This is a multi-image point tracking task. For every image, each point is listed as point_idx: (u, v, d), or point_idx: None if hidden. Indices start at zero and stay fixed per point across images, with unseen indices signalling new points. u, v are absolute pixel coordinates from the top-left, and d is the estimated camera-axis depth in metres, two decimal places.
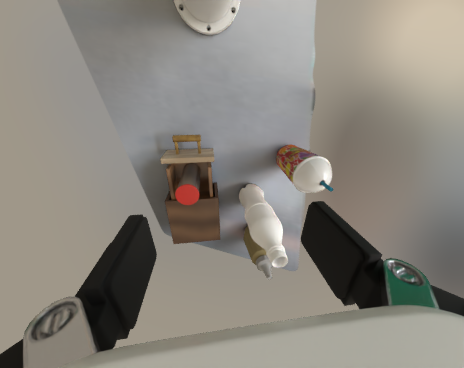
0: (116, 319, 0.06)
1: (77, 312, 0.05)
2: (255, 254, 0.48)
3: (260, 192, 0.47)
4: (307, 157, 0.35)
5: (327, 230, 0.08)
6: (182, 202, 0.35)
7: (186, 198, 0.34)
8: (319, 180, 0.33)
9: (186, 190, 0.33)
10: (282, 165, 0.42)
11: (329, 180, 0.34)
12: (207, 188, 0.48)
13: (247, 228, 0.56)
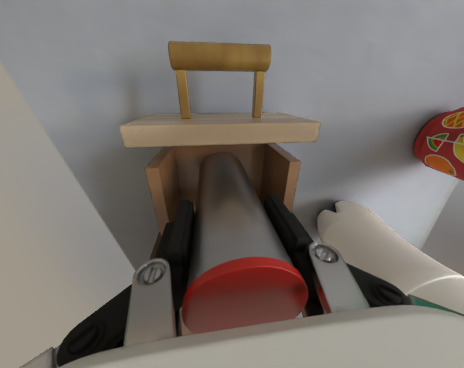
0: (185, 280, 0.07)
1: (167, 268, 0.06)
2: None
3: (388, 226, 0.19)
4: None
5: (274, 219, 0.09)
6: None
7: (240, 321, 0.07)
8: None
9: (247, 292, 0.06)
10: None
11: None
12: None
13: None
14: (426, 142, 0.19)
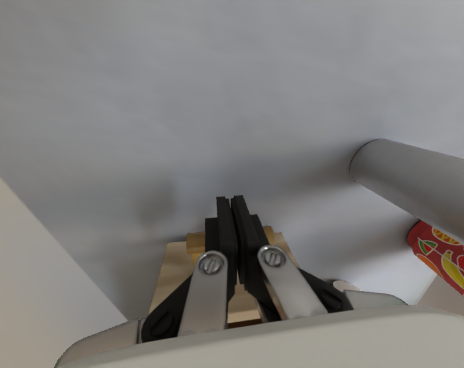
0: None
1: (225, 259, 0.07)
2: None
3: None
4: None
5: (235, 221, 0.09)
6: None
7: None
8: None
9: None
10: None
11: None
12: None
13: None
14: (417, 242, 0.20)
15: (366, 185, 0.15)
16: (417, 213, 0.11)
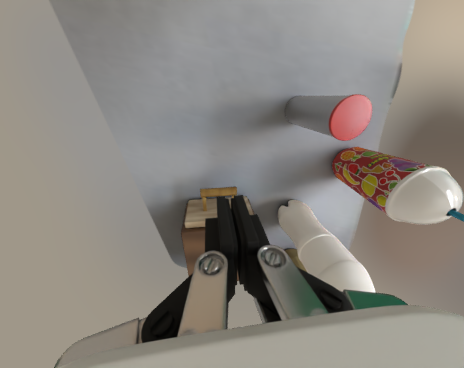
0: None
1: (225, 259, 0.07)
2: None
3: (312, 214, 0.33)
4: (416, 168, 0.22)
5: (235, 221, 0.09)
6: (337, 134, 0.19)
7: (347, 125, 0.19)
8: (448, 208, 0.20)
9: (354, 107, 0.18)
10: (352, 177, 0.29)
11: None
12: None
13: None
14: (334, 166, 0.33)
15: (291, 120, 0.28)
16: (303, 123, 0.24)
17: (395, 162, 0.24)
